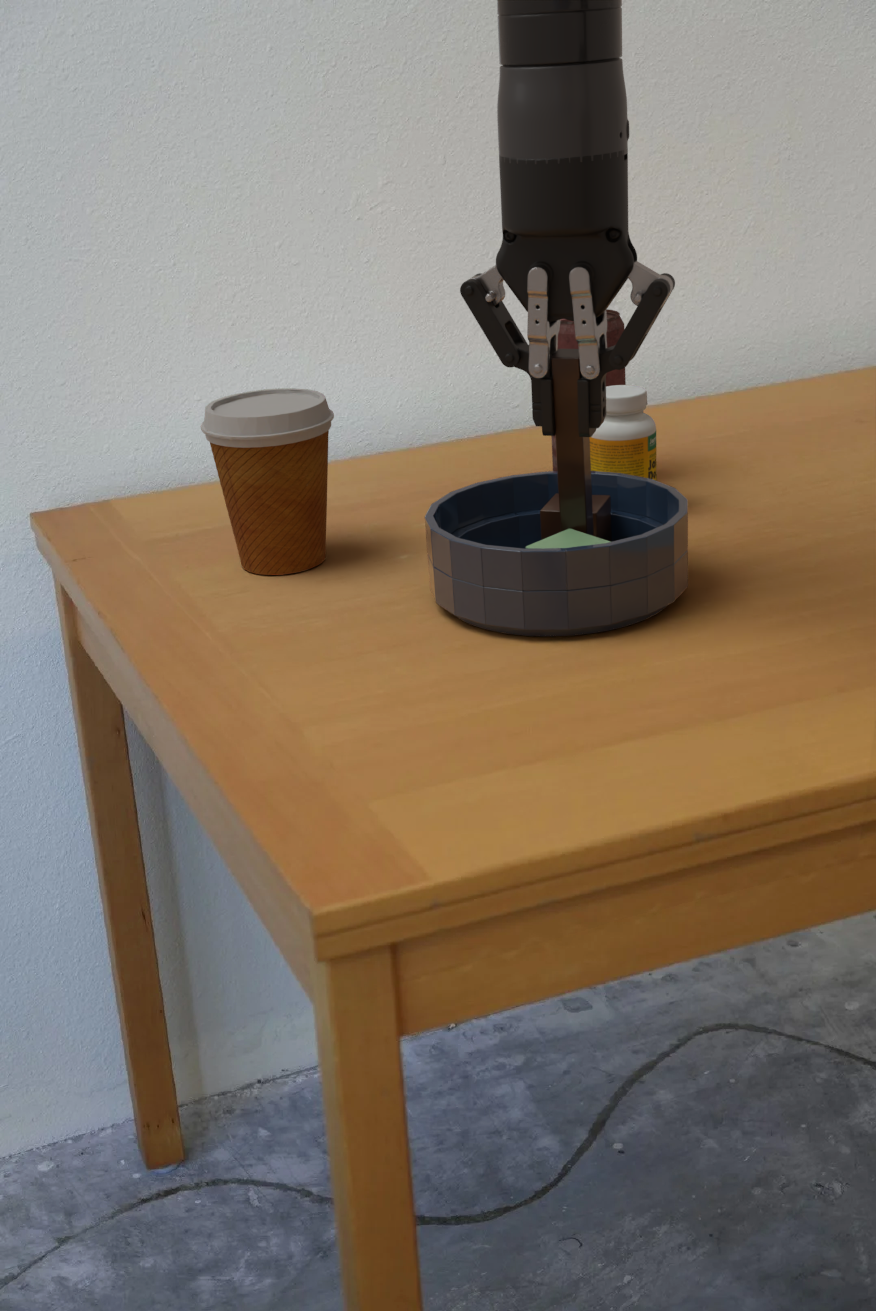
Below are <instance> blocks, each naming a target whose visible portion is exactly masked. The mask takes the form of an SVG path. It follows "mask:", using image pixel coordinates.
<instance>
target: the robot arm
mask: <svg viewBox="0 0 876 1311" xmlns="http://www.w3.org/2000/svg"><path fill="white" fill-rule="evenodd" d="M622 6H623V0H496V9H497V10H496V14H497V35H498V36H497V37H498V40H497V41H498V59H499V60H498V62H499V64H500V66H499V80H498V93H497V104H496V110H497V111H496V114H497V116H496V118H497V120H496V121H497V143H498V164H499V166H498V167H499V168H498V169H499V184H500V185H499V187H500V188H499V189H500V209H501V232H502V240H501V244H500V247H499V249H498V252H497V253H496V257H495V265H493V266H492V267H490V268H489V269H487V270H486V271H484V272H482V273H481V272H478V273H476V274H474V275H473V276H472V277H470V278H468V279H467V280H465V281H464V282H462V283H461V284H460V288H459V293H460V295H461V297H462V299H463V301H464V302H465V304H466V305H467V307H468V309H469V311H470V312H471V314H472V315H473V317H474V319H475V321H476V322H477V324H478V325H479V327H480V328H481V329H480V330H481V331H482V332H483V334H484V336H485V337H486V338H487V340H488V342H489V345H491V347H492V349H493V351H494V352H495V354H496V355H497V357H498V359H499V361H500V362H501V364H502V365H503V366H504V367H505V368H516V369H519V370H521V371H523V372H525V373H526V374H527V375H528V376H529V378H530V386H531V388H530V389H531V408H532V410H531V411H532V412H531V413H532V415H531V416H532V421H533V423H534V425H535V427H541V433H542V436H544V437H545V436H546V437H547V436H548V437H551V436H555V435H556V433H555V415H554V397H553V379H552V364H551V358H552V356H553V355H554V354H555V352H556V351H557V348H558V332H559V329H560V319H566V320H570V321H574V326H575V337H576V341H577V342H578V348H579V359H580V371H581V374H582V378H581V379H578V380H577V391H578V432H579V437H591V436H592V435H593V434H594V433H595V431H596V429H597V428H599V427H600V426H601V424H602V423H603V422H604V419H605V417H606V374H607V372H610V371H613V370H621V369H624V368H625V369H626V367H627V366H628V365H629V364H630V362H631V361H632V360H633V359H634V358H635V357H636V355H637V353H638V351H639V350H640V349H641V346H642V344H643V343H644V341H645V339H646V337H647V336H648V335H649V332H650V331H651V329H652V327H653V326H654V323H655V322H656V320H657V319H658V316H659V315H660V314H661V311H662V310H663V308H664V307H665V304H666V303H667V301H668V300H669V298H670V296H671V294H672V292H673V291H674V289H675V286H676V280H675V278H674V277H673V275H671V274H670V273H668V272H663V273H661V274H660V273H658V272H656V271H655V270H653V269H651V268H649V267H648V266H646V265H644V264H643V263H641V262H639V261H638V253H637V250H636V248H635V247H634V245H633V243H632V240H631V238H630V233H629V154H628V153H629V150H628V149H629V145H628V144H629V139H630V121H629V119H628V98H627V90H626V82H625V74H624V63H623V59H622V57H623V8H622ZM628 280H629V281H630V282H631V286H632V287H631V292H630V301H631V303H632V304H633V305H635V306H636V307H635V310H634V312H633V313H632V315H631V317H630V318H629V321H628V322H627V323H626V326H625V327H624V331H623V333H622V335H621V336H620V338H619V340H618V342H617V343H616V345H614V346H611V347H609V348H607V338H606V332H607V313H606V309H608V308H609V306H610V305H611V304H612V303H613V301H614V300H615V298H616V297H617V295H618V294H619V292H620V291H621V289H622V288H623V286H624V285H625V284H626V282H627V281H628ZM504 282H505V283H506V285H507V287H508V288H509V290H510V291H511V292H512V294H514V296H515V297H516V299H517V300H518V302H519V303H520V304H521V306H522V307H523V309H524V310H525V311H526V313H527V332H526V334H527V340H528V342H527V340H526V338H525V337H524V335H523V333H522V332H521V330H520V328H519V327H518V325H517V323H516V322H515V320H514V319H513V317H512V315H511V314H510V311H509V310H508V309H507V307H506V305H505V304H504V302H503V300H504V299H505V297H506V290H505V287H504Z"/></svg>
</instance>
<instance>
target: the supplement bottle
mask: <svg viewBox="0 0 876 1311" xmlns="http://www.w3.org/2000/svg"><path fill="white" fill-rule="evenodd" d="M647 406H648V390H647V389H646V387H644V386H640V385H635V384H626V385H613V386H607V387H606V417H605V419H604V422H603V423H602V424H601V426H600V427H599V428H597V429H596V431H595V433H594V434H593V435H592V436H591V437H589V438H590V462H591V471H599V472H613V473H623V474H628V475H634V476H639V477H644V478H649V479H653V480H656V481H658V479H657V478H658V476H657V463H658V462H657V425H656V422H655V420H654V418H653V417H652V416H651V415H649V414H648V413H645V412H644V411H645V410H646V409H647Z"/></svg>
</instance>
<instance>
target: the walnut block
mask: <svg viewBox="0 0 876 1311" xmlns="http://www.w3.org/2000/svg"><path fill="white" fill-rule="evenodd" d="M592 508H593V532H594V536H595V537H598V538H601V539H604V540H607V541H610V542H612V539H611V497H610V496H609V495H592ZM540 520H541V540H543V539H545V538H547V537H550V536H552V535H555V534H557V533H559V532H561V528H560V510H559V494H558V493H556V494H555V495H554V496H553V497H552V498H551V499H550V500H549V501H548V503H547V504H546V505H545V506H544V507H543V508H542V509H541V510H540Z"/></svg>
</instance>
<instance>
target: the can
mask: <svg viewBox="0 0 876 1311" xmlns="http://www.w3.org/2000/svg"><path fill="white" fill-rule="evenodd" d="M606 313H607V332H606V338H607V348H609V347H611V346H614V345H616V343H617V342H618V340H619V338H620V336H621V335H622V333H623V331H624V329H625V323H624V321H623V318H621V314H620V312H619V311H618V310H613V309H608V308H607V309H606ZM558 349H579V348H578V342H577V341H576V337H575V326H574V321H570V320H566V319H560V329H559V332H558V348H557V350H558ZM613 385H627V382H626V367H625V368H624V369H621V370H613V371H610V372H607V374H606V387H607V386H613ZM550 437H551V456H552V457H551V458H552V471H557V455H556V437H555V436H550Z"/></svg>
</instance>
